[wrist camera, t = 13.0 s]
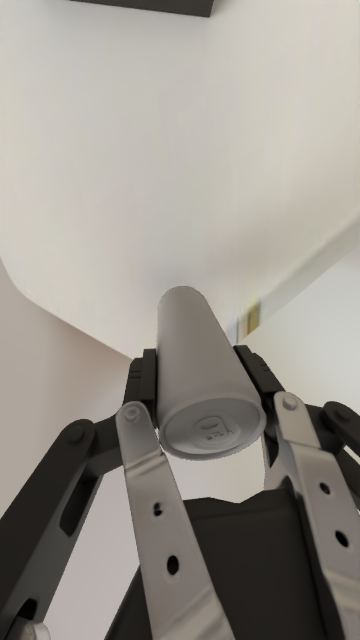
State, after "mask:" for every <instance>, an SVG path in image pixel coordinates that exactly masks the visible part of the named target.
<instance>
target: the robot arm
mask: <svg viewBox="0 0 360 640" xmlns="http://www.w3.org/2000/svg"><path fill="white" fill-rule="evenodd" d="M233 349H234V351H235V353H236V355H237V356H238V358H239V360H240V362H241V364H242V365H243V367H244V369H245V371H246V373H247V374H248V376H249V378H250V380H251V382H252V383H253V385H254V387H255V389H256V391H257V392H258V394H259V396H260V398H261V407H262V409H263V410H264V412H265V414H266V426H265V429H264V432H263V433H262V434H261V441H262V449H263V457H264V465H265V479H264V491H261V492H260V493H257V494H256V495H254V496H252V497H250V498H249V499H247V500H245V501H243V502H241V503H233V502H228V501H224V500H219V499H215V498H210V497H207V498H198V499H190V500H182V498H181V495H180V492H179V490H178V487H177V484H176V481H175V479H174V476H173V473H172V470H171V467H170V465H169V462H168V459H167V457H166V455H165V453H164V452H162V449H161V447H160V444H159V441H158V438H157V436H156V433H155V430H154V429H156V428H157V426H156V416H155V409H156V348H155V349H144V352H143V358H135V359H134V360H133V361H132V363H131V364H130V369H129V374H128V379H127V384H126V390H125V395H124V401H123V404H122V406H121V408H120V409H119V410H118V412H117V413H116V414H114V415H113V416H111V417H110V418H107V419H105V420H102V421H100V422H97V423H95V424H94V423H93V422H92V421H90V420H88V419H80V420H76V421H74V422H72V423H70V424H69V425H68V426H66V427H65V428H64V429H63V430H62V432H61V433H60V434H59V436H58V437H57V439H56V440H55V442H54V443H53V444H52V446H51V447H50V449H49V450H48V452H47V453H46V454H45V456H44V457H43V459H42V460H41V462H40V463H39V464H38V466H37V467H36V469H35V470H34V472H33V473H32V474H31V476H30V477H29V479H28V480H27V482H26V483H25V485H24V486H23V488H22V489H21V490H20V492H19V493H18V495H17V496H16V498H15V499H14V500H13V502H12V503H11V505H10V506H9V508H8V509H7V511H6V512H5V513H4V515H3V516H2V518H1V519H0V640H51V639H50V634H49V631H48V629H47V627H46V626H45V625H44V624H43V620H44V618H45V616H46V613H47V611H48V608H49V606H50V603H51V601H52V599H53V596H54V594H55V591H56V589H57V587H58V584H59V582H60V579H61V577H62V575H63V572H64V570H65V567H66V565H67V563H68V560H69V558H70V555H71V553H72V551H73V548H74V546H75V543H76V541H77V538H78V536H79V534H80V531H81V529H82V526H83V524H84V522H85V519H86V517H87V515H88V512H89V509H90V507H91V505H92V502H93V500H94V497H95V495H96V493H97V490H98V488H99V486H100V483H101V481H102V478H103V476H104V474H105V473H107V472H109V471H111V470H113V469H116V468H118V467H120V466H121V465H123V466H124V475H125V481H126V487H127V493H128V498H129V504H130V510H131V515H132V521H133V527H134V533H135V539H136V544H137V550H138V556H139V562H140V565H139V567H138V569H137V571H136V573H135V576H134V577H133V579H132V582H131V584H130V586H129V588H128V590H127V592H126V594H125V596H124V599H123V601H122V603H121V605H120V607H119V609H118V611H117V614H116V615H115V617H114V620H113V622H112V624H111V626H110V628H109V630H108V632H107V634H106V636H105V639H104V640H360V515H359V513H358V510H359V511H360V465H359V464H358V463H357V462H356V461H355V460H354V459H353V458H352V457H351V456H350V455H349V454H348V453H347V452H346V451H345V450H344V449H343V448H344V447H345V446H346V445H347V446H348V447H349V448H350V449H351V450H352V451H353V452H354V453H356V454H357V455H358V456H359V457H360V416H359V415H358V414H357V413H355V412H354V411H353V410H352V409H350V408H349V407H347V406H345V405H343V404H341V403H338V402H334V401H330V402H327V403H326V404H325V405H324V406H323V408H322V407H317V406H312V405H308V404H304V403H303V401H302V400H301V399H300V398H298V397H297V396H296V395H294V394H292V393H289V392H286V391H285V390H284V388H283V387H282V385H281V384H280V383H279V381H278V380H277V378H276V377H275V375H274V374H273V373H272V371H271V370H270V368H269V367H268V366H267V364H266V363H265V361H264V360H263V359H262V358H261V357H260V356H259V355H257V354H256V353H252V352H251V351H250V349H249V348H248V346H247V345H235V346H233ZM357 509H358V510H357Z"/></svg>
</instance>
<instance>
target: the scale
mask: <svg viewBox="0 0 360 640" xmlns="http://www.w3.org/2000/svg"><path fill="white" fill-rule="evenodd" d="M72 1H80V2H89V3H97V4H105V5H113V6H121V7H129V8H137V9H145V10H153V11H161V12H170V13H178V14H186V15H194V16H202V17H210V13H211V9H212V5H213V1H214V0H72Z"/></svg>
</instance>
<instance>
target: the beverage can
mask: <svg viewBox="0 0 360 640" xmlns="http://www.w3.org/2000/svg"><path fill="white" fill-rule="evenodd" d="M155 416H156V426H157V428H158V430H159V433H158V434H159V443H160V444H161V446H162V447H163V449H164V450H165V451H166V452H168V453H169V454H171V455H173V456H175V457H178V458H180V459H186V460H195V461H204V460H212V459H218V458H222V457H226V456H229V455H232V454H234V453H237V452H239V451H241V450H243V449H245V448H246V447H248V446H250V445H251V444H252V443H253V442H255V441H256V440H257V439H258V438H259V437H260V435H261V434H262V433H263V432H264V429H265V426H266V414H265V412H264V410H263V409H262V407H261V398H260V396H259V394H258V392H257V391H256V389H255V387H254V385H253V383H252V382H251V380H250V378H249V376H248V374H247V373H246V371H245V369H244V367H243V365H242V364H241V362H240V360H239V358H238V356H237V355H236V353H235V351H234V349H233V348H232V346H231V344H230V342H229V340H228V339H227V337H226V335H225V333H224V331H223V330H222V328H221V326H220V324H219V322H218V321H217V319H216V317H215V315H214V313H213V312H212V310H211V308H210V306H209V304H208V302H207V301H206V299H205V298H204V296H203V295H202V294H201V293H200V292H199V291H197V290H196V289H194V288H192V287H188V286H178V287H174V288H172V289H170V290H168V291H167V292H166V293H165V294H164V295H163V296H162V298H161V300H160V302H159V305H158V325H157V347H156V409H155Z"/></svg>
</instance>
